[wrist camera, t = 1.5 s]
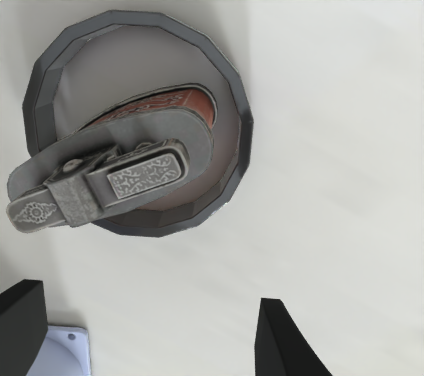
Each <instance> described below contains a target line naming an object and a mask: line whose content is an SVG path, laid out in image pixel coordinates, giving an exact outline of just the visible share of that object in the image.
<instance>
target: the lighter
mask: <svg viewBox="0 0 424 376" xmlns="http://www.w3.org/2000/svg"><path fill="white" fill-rule="evenodd" d="M216 118H217V104H216V100H215V98H214V96H213V94H212V92H211V91H209V90H208V89H207V88H206V87H205V86H203V85H201V84H199V83H186V84H181V85H175V86H169V87H163V88H159V89H156V90H153V91H149V92H146V93H143V94H140V95H136V96H133V97H131V98H129V99H127V100H125V101H123V102H121V103H119V104H116V105H114V106H112V107H110V108H108V109H106V110H105V111H103V112H102V113H100V114H99V115H97V116H96V117H94V118H92V119H91V120H89V121H88V122H86V123H85V124H83V125H82V126H80V127H79V128H78V129H77V130H76V131H75V132H74V134H72V135H70V136H68V137H66V138H63V139H61V140H59V141H57V142H55V143H54V144H52V145H51V146H49V147H48V148H46V149H44V150H43V151H41V152H40V153H38V154H37V155H35V156H34V157H32V158H31V159H29V160H28V161H26V162H25V163H23V164H22V165H20V166H19V167H17V168H16V169H15V170H14V171H13V172H12V173H11V174H10V176H9V179H8V183H7V190H8V197H9V199H10V201H11V203H9V204H8V206H7V207H6V213H7V215H8V218H9V219H10V221H11V223H12V224H13V225H14V227H15V228H16V229H17V230H19V231H20V232H22V233H31V232H35V231H38V230H41V229H44V228H46V227H57V226H64V225H70V227H79V226H81V225H84V224H87V223H90V222H92V221H94V220H98V219H102V218H106V217H109V216H113V215H117V214H121V213H125V212H128V211H130V210H133V209H135V208H137V207H140V206H142V205H145V204H147V203H149V202H152V201H154V200H157V199H159V198H161V197H164V196H166V195H167V194H169V193H171V192H173V191H174V190H176V189H178V188H180V187H181V186H183V185H185V184H187V183H188V182H190V181H192V180H194V179H196V178H197V177H199V176H200V175H201V174H202V173H204V172H205V171H206V170H207V168H208V166H209V164H210V162H211V160H212V153H213V144H214V141H213V136H212V132H211V129H212V128H213V126H214V124H215V122H216Z"/></svg>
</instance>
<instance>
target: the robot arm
mask: <svg viewBox="0 0 424 376" xmlns="http://www.w3.org/2000/svg"><path fill="white" fill-rule="evenodd" d="M71 334H74V335H75V336H73V335H71ZM254 349H255V376H332V374H331V373H330V372H329V371H328V370H327V368H326V367H325V366H324V364H323V363H322V362H321V361H320V359H319V358H318V357H317V355H316V354H315V353H314V351H313V350H312V348H311V347H310V345H309V344H308V343H307V341H306V340H305V338H304V337H303V335H302V334H301V332H300V331H299V329H298V328H297V326H296V324H295V323H294V321H293V320H292V318H291V316H290V315H289V313H288V311H287V309H286V308H285V306H284V304H283V302H282V301H281V300H280V299H270V298H261V303H260V310H259V317H258V324H257V332H256V339H255V346H254ZM0 376H91V365H90V353H89V340H88V332H87V331H86V330H85V329H83V328H76V327H62V326H48V323H47V314H46V306H45V297H44V289H43V281H40V280H28V279H24V280H22V281H20V282H19V283H17V284H15V285H14V286H12V287H10V288H9V289H7V290H6V291H4V292H3V293H1V294H0Z"/></svg>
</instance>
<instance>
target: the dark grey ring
mask: <svg viewBox="0 0 424 376" xmlns="http://www.w3.org/2000/svg"><path fill="white" fill-rule="evenodd" d="M125 25H127V26H144V27H159V28H161V29H163V30H165V31H167V32H169V33H171V34H173V35H175V36H177V37H179V38H180V39H182V40H184V41H186V42H188V43H190V44H192V45H194V46H196V47H198V48H200V50H201V51H202V52H203V53H204V54H205V55H206V57H207V58H208V59H209V60H210V61H211V63H212V64H213V65H214V66H215V67H216V68H217V70H218V71H219V72H220V73H221V74H222V76H223V77H224V78H225V79H226V80H227V81H228V83H229V86H230V90H231V93H232V96H233V99H234V102H235V105H236V108H237V111H238V114H239V129H238V141H237V151H236V153H235V154H234V156H233V158H232V160H231V162H230V164H229V166H228V168H227V170H226V171H225V173H224V175H223V177H222V179H221V181H219V182H218V183H217V184H216V185H215V186H213V187H212V188H211V189H210V190H208V191H207V192H206V193H205V194H204V195H202V196H201V197H200V198H199V199H197V200H196V201H195V202H192V203H188V204H185V205H182V206H179V207H175V208H172V209H169V210H166V211H156V210H141V209H133V210H130V211H128V212H125V213H121V214H117V215H113V216H109V217H106V218H102V219H98V220H94V221H92V222H90V223H93V224H95V225H97V226H100V227H102V228H104V229H107V230H109V231H111V232H114V233H116V234H119V235H128V236H143V237H158V238H159V237H163V236H166V235H170V234H173V233H176V232H180V231H183V230H186V229H190V228H193V227H197V226H198V225H200V224H201V223H202V222H204V221H205V220H206V219H208V218H209V217H210V216H211V215H213V214H214V213H215V212H216V211H218V210H219V209H220V208H221V207H223V206H224V205H225V204H226V203H228V202H229V201H230V199H231V197H232V196H233V194H234V192H235V190H236V188H237V187H238V185H239V183H240V181H241V179H242V177H243V176H244V174H245V172H246V170H247V168H248V167H249V164H250V155H251V144H252V134H253V124H254V122H253V116H252V113H251V110H250V107H249V104H248V100H247V97H246V94H245V91H244V87H243V84H242V81H241V78H240V75H239V72H238V70H237V69H236V68H235V66H234V65H233V64H232V63H231V62H230V60H229V59H228V58H227V57H226V56H225V54H224V53H223V52H222V51H221V50H220V48H219V47H218V46H217V45H216V44H215V42H214V41H213V40H212V39H211V38H210V37H209V36H208V35H206V34H204V33H202V32H200V31H199V30H197V29H195V28H193V27H191V26H189V25H187V24H185V23H183V22H181V21H179V20H177V19H175V18H173V17H172V16H170V15H166V14H163V13H158V12H142V11H125V10H109V11H106V12H104V13H101V14H99V15H96V16H94V17H91V18H89V19H86V20H84V21H81V22H79V23H76V24H74V25H71V26H69V27H67V28H65V29H64V30H63V31H62V32H61V34H60V35H59V36H58V37H57V38H56V39H55V40H54V41H53V43H52V44H51V45H50V46H49V47H48V48H47V49H46V50H45V51H44V53H43V54H42V55H41V56H40V57H39V58H38V59H37V60H36V62H35V64H34V67H33V70H32V74H31V77H30V81H29V84H28V88H27V91H26V94H25V98H24V101H23V105H22V109H23V117H24V125H25V133H26V141H27V149H28V152H29V154H30V156H31V158H32V157H34V156H35V155H37V154H38V153H40V152H41V151H43V150H44V149H46V148H48V147H49V146H51V145H52V144H54V143H55V142H57V139H56V134H55V123H54V113H53V99H54V96H55V93H56V90H57V86H58V83H59V80H60V77H61V74H62V71H63V68H64V66H65V65H66V64H67V63H68V62H69V61H70V60H71V59H72V58H73V57H74V55H75V54H76V53H77V52H78V51H79V50H80V49H81V48H82V47H83V46H84V45H85V44H86V43H87V41H88V40H89V39H92V38H94V37H97V36H100V35H102V34H105V33H107V32H110V31H112V30H115V29H117V28H120V27H122V26H125Z"/></svg>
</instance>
